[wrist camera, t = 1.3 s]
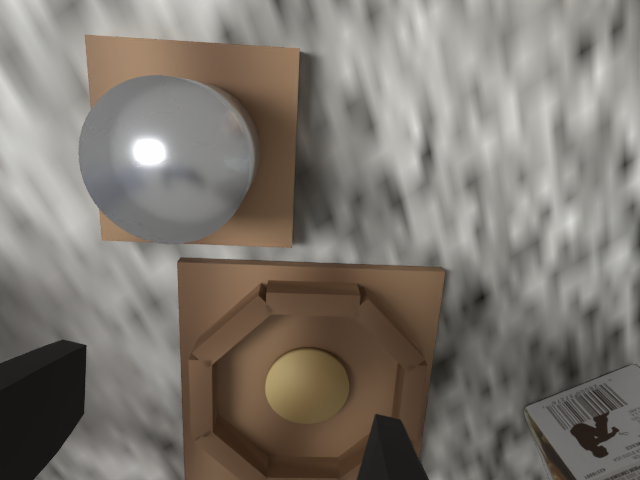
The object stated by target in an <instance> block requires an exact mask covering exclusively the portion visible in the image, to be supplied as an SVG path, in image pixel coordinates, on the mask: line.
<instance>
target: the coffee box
mask: <svg viewBox="0 0 640 480" xmlns="http://www.w3.org/2000/svg"><path fill="white" fill-rule="evenodd" d="M524 415H525V418H526V421H527V423H528V426H529V428H530V431H531V433H532V436H533V438H534V441H535V443H536V446H537V448H538V451H539V453H540V456H541V458H542V461H543V464H544V466H545V469H546V471H547V474H548V476H549V479H550V480H640V368H639V367H638V366H636V365H629V366H627V367H624V368H622V369H619V370H617V371H614V372H612V373H609V374H607V375H604V376H602V377H599V378H597V379H594V380H592V381H589V382H586V383H584V384H581V385H579V386H576V387H574V388H571V389H569V390H566V391H564V392H561V393H559V394H556V395H554V396H551V397H549V398H546V399H544V400H542V401H539V402H536V403H534V404H531V405H529V406H527V407H525V409H524Z"/></svg>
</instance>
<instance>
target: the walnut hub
mask: <svg viewBox="0 0 640 480" xmlns="http://www.w3.org/2000/svg"><path fill="white" fill-rule="evenodd" d="M177 268H178V297H179V325H180V354H181V382H182V411H183V439H184V467H185V480H357V477H358V473H359V470H360V466H361V463H362V459H363V456H364V452H365V449H366V445H367V441H368V438H369V434H370V431H371V427H372V424H373V420H374V417H375V414H379V415H383V416H388V417H392V418H396V419H400V420H401V421H402V423H403V424H404V426H405V429H406V431H407V433H408V436H409V438H410V440H411V443H412V445H413V447H414V449H415V452H416V454H417V456H418V458H419V456H420V448H421V441H422V434H423V427H424V420H425V413H426V406H427V399H428V392H429V384H430V377H431V370H432V363H433V356H434V349H435V342H436V335H437V328H438V321H439V313H440V306H441V299H442V292H443V285H444V278H445V271H444V270H443V269H442V267H417V266H390V265H364V264H337V263H310V262H283V261H256V260H229V259H203V258H180V259H179V260H178V262H177Z"/></svg>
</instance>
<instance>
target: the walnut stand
mask: <svg viewBox="0 0 640 480" xmlns="http://www.w3.org/2000/svg"><path fill="white" fill-rule="evenodd" d="M85 43H86V55H87V67H88V79H89V91H90V103H91V109H92V107H93V106H94V105H95V103H96V102H97V101H98V100H99V99H100V98H101V97H102V96H103V95H104V94H105V93H106V92H107V91H109V90H110V89H112V88H113V87H115V86H116V85H118V84H120V83H123V82H125V81H127V80H130V79H133V78H137V77H141V76H148V75H164V76H172V77H178V78H184V79H189V80H195V81H201V82H205V83H209V84H213V85H215V86H217V87H220V88H222V89H224V90H225V91H227V92H229V93H230V94H231V95H233V96H234V97H235V98H237V99H238V100H239V101H240V102H241V103H242V104H243V106H244V107H245V108H246V109H247V111H248V112H249V114H250V115H251V117H252V118H253V121H254V123H255V125H256V127H257V130H258V134H259V138H260V144H261V157H260V164H259V169H258V171H257V174H256V177H255V179H254V181H253V183H252V184H251V186H250V188H249V190H248V192H247V193H246V195H245V197H244V199H243V201H242V202H241V204H240V206H239V208H238V209H237V211H236V212H235V213H234V215H233V216H232V217H231V218H230V219H229V220H228V222H227V223H226V224H224V225H223V226H222V227H221V228H219V229H218V230H217V231H215V232H214V233H212V234H210V235H208V236H206V237H204V238H201V239H199V240H196V241H192V242H188V243H184V244H210V245H236V246H261V247H287V248H292V232H293V207H294V181H295V156H296V130H297V105H298V80H299V54H300V48H284V47H269V46H253V45H237V44H221V43H205V42H190V41H174V40H158V39H142V38H127V37H111V36H95V35H85ZM99 211H100V223H101V235H102V240H107V241H133V242H151V241H147V240H144V239H141V238H138V237H136V236H134V235H132V234H130V233H128V232H126V231H124V230H123V229H121V228H120V227H118V226H117V225H116V224H114V223H113V222H112V221H111V220H109V219H108V218H107V217H106V216H105V214H104V213H103V212H102V211H101V210H100V209H99Z"/></svg>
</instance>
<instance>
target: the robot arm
mask: <svg viewBox="0 0 640 480" xmlns="http://www.w3.org/2000/svg"><path fill="white" fill-rule="evenodd" d="M85 373H86V345H83V344H79V343H75V342H71V341H66V340H60V341H57V342H54V343H52V344H49V345H46V346H43V347H41V348H38V349H36V350H33V351H30V352H28V353H25V354H23V355H20V356H18V357H15V358H13V359H10V360H8V361H5V362H3V363H0V480H34V479H35V477H36V476H37V475H38V474H39V473H40V472H41V471H42V469H43V468H44V467H45V466H46V465H47V464H48V463H49V461H50V460H51V459H52V458H53V457H54V456H55V454H56V453H57V452H58V451H59V449H60V448H61V447H62V445H63V444H64V442H65V441H66V439H67V438H68V437H69V435H70V434H71V432H72V431H73V429H74V428H75V426H76V425H77V423H78V422H79V420H80V419H81V417H82V416H83V414H84V400H85ZM357 480H429V479H428V477H427V475H426V473H425V471H424V469H423V467H422V464H421V462H420V460H419V458H418V456H417V454H416V452H415V449H414V447H413V445H412V443H411V440H410V438H409V436H408V433H407V431H406V429H405V426H404V424H403V423H402V421H401V420H400V419H396V418H392V417H388V416H383V415H379V414H375V417H374V420H373V424H372V427H371V431H370V434H369V438H368V441H367V445H366V449H365V452H364V456H363V459H362V463H361V466H360V470H359V473H358V477H357Z"/></svg>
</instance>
